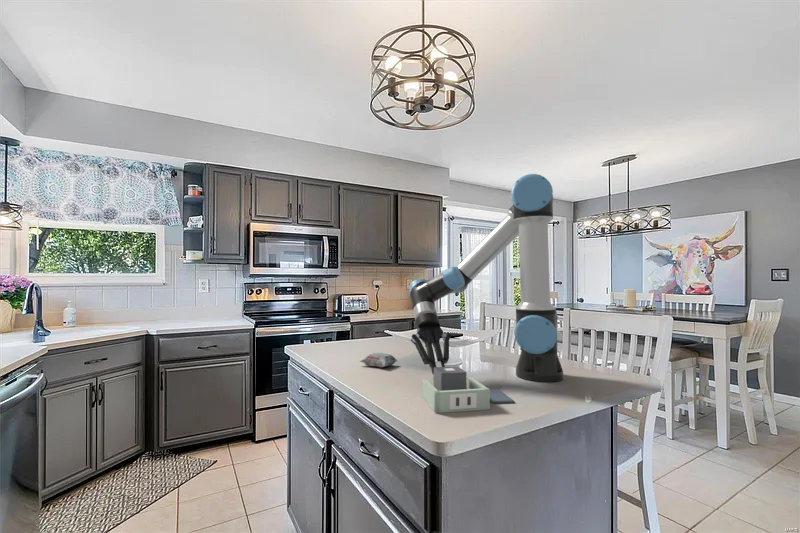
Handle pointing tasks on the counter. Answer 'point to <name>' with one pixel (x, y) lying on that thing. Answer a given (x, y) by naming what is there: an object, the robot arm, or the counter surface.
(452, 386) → the block
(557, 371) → the robot arm
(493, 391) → the phone
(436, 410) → the outlet bay
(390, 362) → the packaged food
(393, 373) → the counter surface
